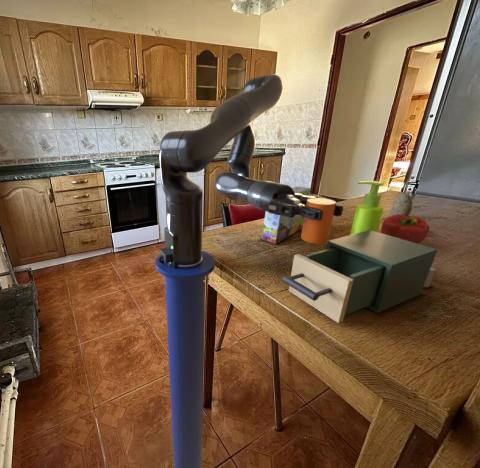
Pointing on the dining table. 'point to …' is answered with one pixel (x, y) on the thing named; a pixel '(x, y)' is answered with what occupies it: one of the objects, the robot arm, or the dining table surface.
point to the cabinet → (391, 264)
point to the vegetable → (405, 228)
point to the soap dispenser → (368, 210)
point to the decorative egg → (402, 205)
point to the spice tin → (318, 229)
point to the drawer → (335, 281)
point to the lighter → (429, 277)
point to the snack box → (283, 222)
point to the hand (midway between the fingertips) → (331, 213)
